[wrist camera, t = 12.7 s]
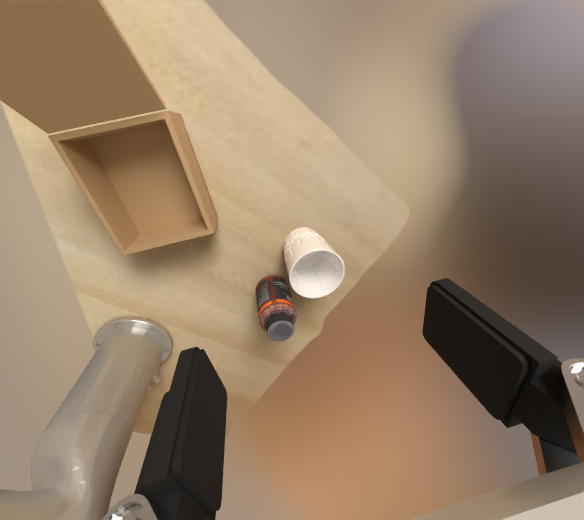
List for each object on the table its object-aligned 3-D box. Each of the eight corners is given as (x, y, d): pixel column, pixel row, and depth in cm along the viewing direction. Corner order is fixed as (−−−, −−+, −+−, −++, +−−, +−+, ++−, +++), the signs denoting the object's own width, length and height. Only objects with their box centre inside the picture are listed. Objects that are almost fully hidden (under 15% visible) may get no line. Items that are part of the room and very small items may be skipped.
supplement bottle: (252, 298, 45) (255, 345, 35) (259, 271, 43) (265, 313, 33) (283, 302, 47) (293, 348, 37) (291, 276, 45) (305, 318, 35)
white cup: (325, 221, 41) (347, 246, 32) (323, 262, 44) (342, 295, 36) (278, 225, 40) (288, 252, 31) (280, 267, 43) (290, 301, 35)
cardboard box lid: (26, -115, 12) (25, -124, 12) (-248, -76, 11) (-247, -86, 11) (165, 108, 25) (164, 103, 25) (47, 133, 24) (47, 128, 24)
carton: (218, 218, 37) (214, 233, 32) (138, 237, 36) (121, 255, 31) (180, 114, 30) (167, 110, 25) (81, 135, 30) (47, 136, 24)
